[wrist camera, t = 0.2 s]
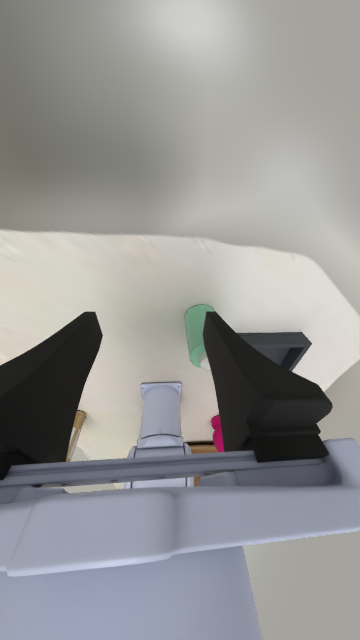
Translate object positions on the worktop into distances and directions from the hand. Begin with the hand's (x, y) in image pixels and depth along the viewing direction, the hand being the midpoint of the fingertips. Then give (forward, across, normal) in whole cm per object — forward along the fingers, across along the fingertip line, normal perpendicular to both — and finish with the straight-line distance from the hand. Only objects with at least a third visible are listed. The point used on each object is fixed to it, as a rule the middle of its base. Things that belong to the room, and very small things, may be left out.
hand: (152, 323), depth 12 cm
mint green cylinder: (+10, -6, +7) cm, 14 cm away
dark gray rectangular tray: (+10, -17, +17) cm, 26 cm away
